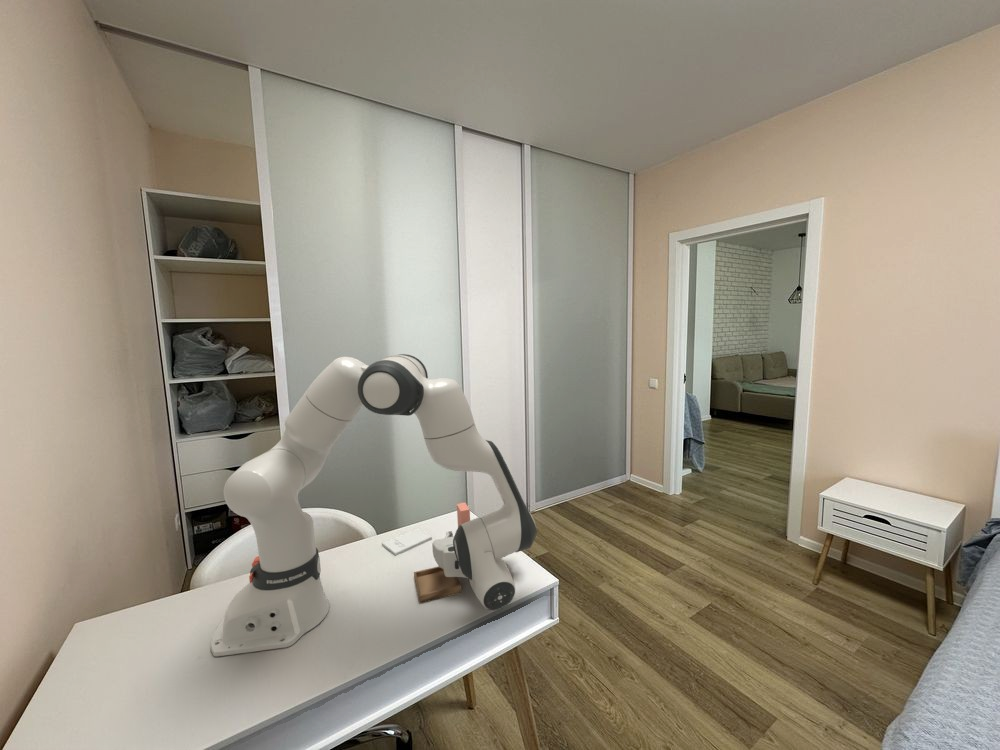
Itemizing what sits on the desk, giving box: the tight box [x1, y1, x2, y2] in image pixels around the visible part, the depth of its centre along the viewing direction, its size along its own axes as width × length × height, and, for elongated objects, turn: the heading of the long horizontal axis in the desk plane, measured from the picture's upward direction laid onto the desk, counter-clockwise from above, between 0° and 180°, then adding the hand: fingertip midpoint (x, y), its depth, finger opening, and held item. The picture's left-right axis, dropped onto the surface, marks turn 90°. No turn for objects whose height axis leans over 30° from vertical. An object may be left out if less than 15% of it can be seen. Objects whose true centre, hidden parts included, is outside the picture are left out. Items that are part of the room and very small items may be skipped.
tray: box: [413, 566, 462, 604], centre depth 99 cm, size 10×10×2 cm
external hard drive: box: [381, 527, 433, 557], centre depth 120 cm, size 2×8×12 cm
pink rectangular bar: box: [456, 502, 471, 528], centre depth 112 cm, size 2×5×14 cm, turn 19°
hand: (465, 530), depth 110 cm, fingers open, 8 cm apart
